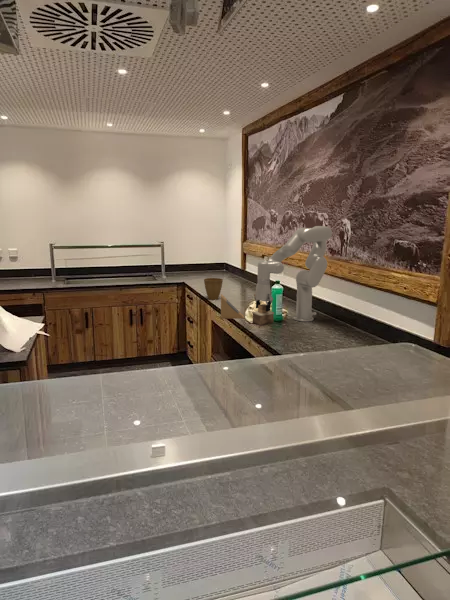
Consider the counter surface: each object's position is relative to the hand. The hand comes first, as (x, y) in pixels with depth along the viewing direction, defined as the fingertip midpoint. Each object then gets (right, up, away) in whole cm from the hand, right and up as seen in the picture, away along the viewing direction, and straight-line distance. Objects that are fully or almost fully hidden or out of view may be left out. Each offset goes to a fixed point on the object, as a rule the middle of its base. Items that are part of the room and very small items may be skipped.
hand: (262, 309), depth 258 cm
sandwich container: (-18, -6, +17) cm, 26 cm away
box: (0, -8, +2) cm, 9 cm away
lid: (0, -2, +1) cm, 3 cm away
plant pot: (-33, +6, +75) cm, 82 cm away
